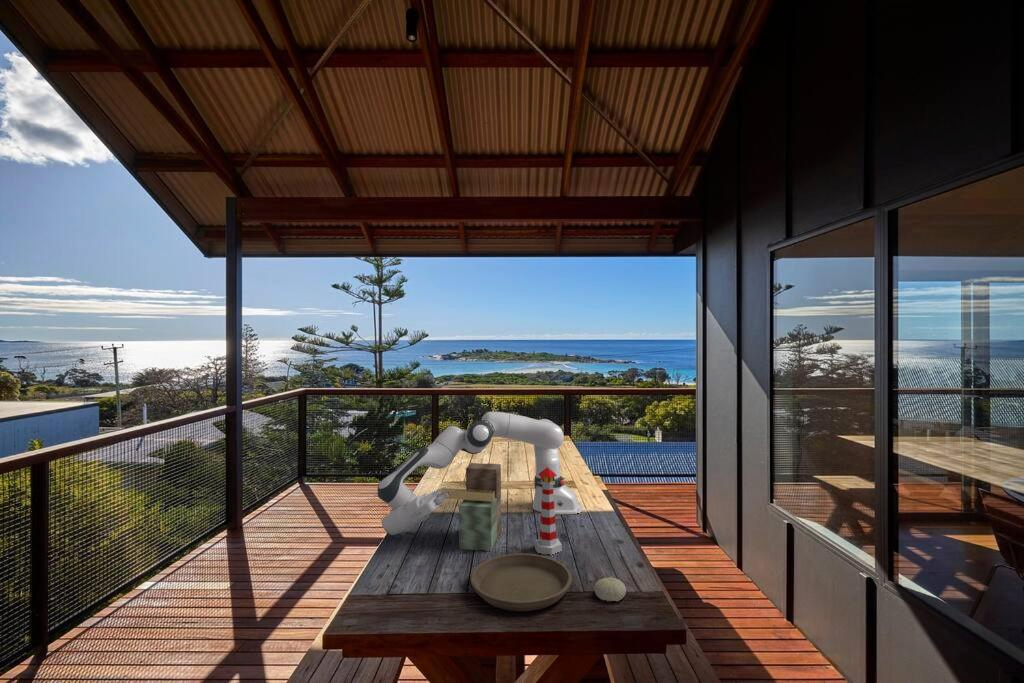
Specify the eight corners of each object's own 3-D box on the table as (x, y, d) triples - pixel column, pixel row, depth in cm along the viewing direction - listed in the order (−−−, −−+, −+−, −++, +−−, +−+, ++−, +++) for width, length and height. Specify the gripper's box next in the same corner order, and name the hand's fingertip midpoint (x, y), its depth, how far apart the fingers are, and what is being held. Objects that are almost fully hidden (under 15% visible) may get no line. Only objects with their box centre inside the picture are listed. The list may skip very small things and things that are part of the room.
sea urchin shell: (588, 583, 158) (606, 564, 158) (606, 600, 158) (624, 581, 159) (595, 598, 149) (614, 578, 149) (614, 616, 149) (633, 596, 150)
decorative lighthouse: (564, 546, 190) (564, 465, 189) (558, 556, 181) (558, 471, 181) (537, 542, 193) (537, 463, 193) (530, 552, 185) (530, 469, 184)
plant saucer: (540, 628, 137) (540, 611, 137) (449, 597, 154) (449, 582, 154) (588, 581, 164) (588, 566, 164) (506, 559, 180) (505, 546, 180)
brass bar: (494, 498, 192) (494, 490, 192) (492, 501, 189) (492, 493, 189) (443, 496, 196) (443, 488, 196) (440, 498, 193) (440, 490, 193)
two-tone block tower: (501, 532, 204) (500, 464, 203) (491, 551, 186) (490, 476, 186) (471, 530, 206) (471, 463, 205) (459, 548, 188) (458, 475, 188)
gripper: (405, 510, 186) (437, 493, 184) (425, 493, 206) (453, 477, 204) (414, 526, 185) (445, 509, 183) (432, 507, 206) (461, 491, 203)
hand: (450, 492), depth 194 cm, fingers closed on brass bar, 3 cm apart
